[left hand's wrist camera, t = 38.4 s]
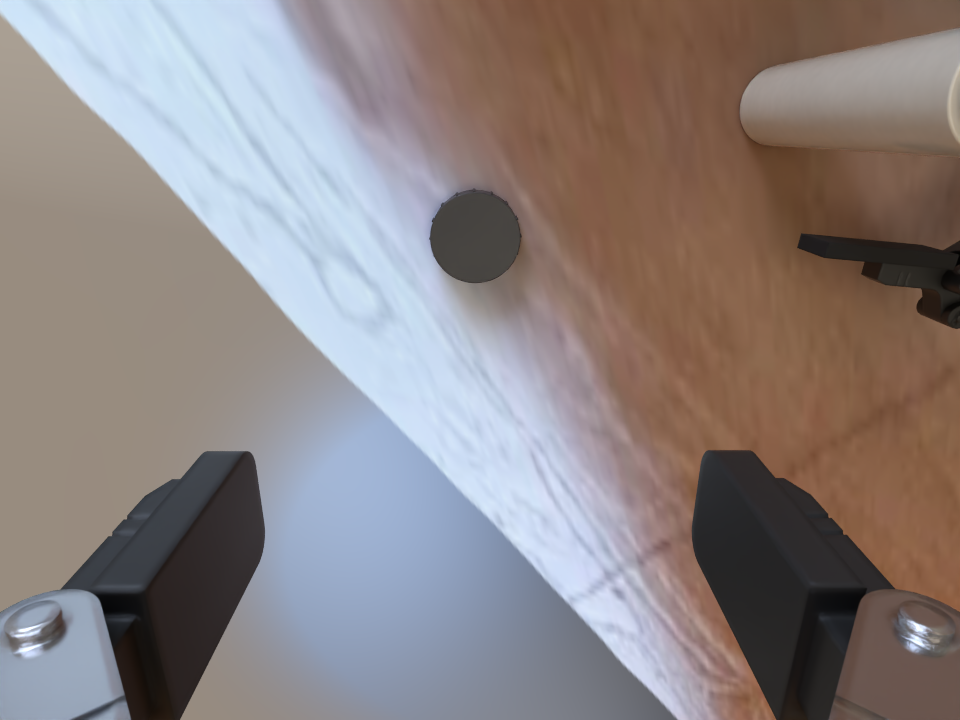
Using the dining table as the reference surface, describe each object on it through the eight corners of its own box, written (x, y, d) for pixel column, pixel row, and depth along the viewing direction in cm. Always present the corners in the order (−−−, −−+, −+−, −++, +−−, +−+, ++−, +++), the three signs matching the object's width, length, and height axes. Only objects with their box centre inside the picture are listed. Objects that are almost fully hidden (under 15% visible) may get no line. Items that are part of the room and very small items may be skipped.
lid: (486, 170, 36) (486, 172, 35) (536, 245, 38) (538, 249, 36) (413, 223, 37) (411, 227, 36) (465, 294, 39) (464, 300, 37)
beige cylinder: (801, 151, 36) (1089, 172, 19) (730, 140, 36) (956, 151, 19) (826, 70, 35) (1161, 16, 18) (751, 58, 34) (1018, -8, 17)
